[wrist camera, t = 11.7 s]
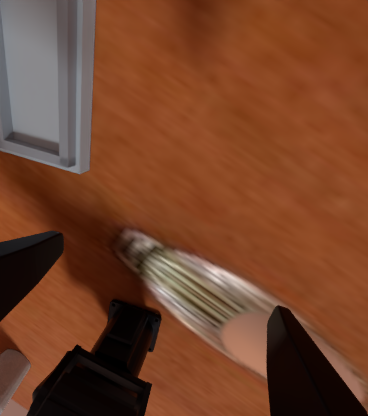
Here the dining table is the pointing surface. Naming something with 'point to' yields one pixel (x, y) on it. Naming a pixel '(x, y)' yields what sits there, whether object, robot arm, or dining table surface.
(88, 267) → the dining table surface
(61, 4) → the two-compartment grey tray
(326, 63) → the dining table surface
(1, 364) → the house plant
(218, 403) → the dining table surface
